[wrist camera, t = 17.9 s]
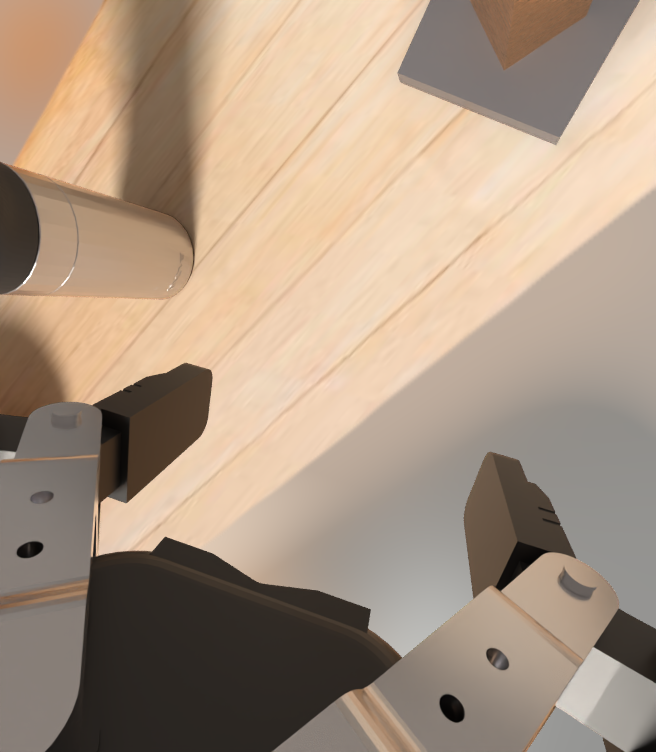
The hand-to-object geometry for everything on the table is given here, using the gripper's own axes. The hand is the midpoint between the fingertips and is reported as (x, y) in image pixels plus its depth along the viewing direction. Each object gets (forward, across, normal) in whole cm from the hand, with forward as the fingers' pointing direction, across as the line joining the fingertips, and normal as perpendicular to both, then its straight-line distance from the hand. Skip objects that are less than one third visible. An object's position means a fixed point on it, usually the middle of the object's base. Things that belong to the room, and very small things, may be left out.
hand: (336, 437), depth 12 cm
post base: (+32, -4, -22) cm, 39 cm away
